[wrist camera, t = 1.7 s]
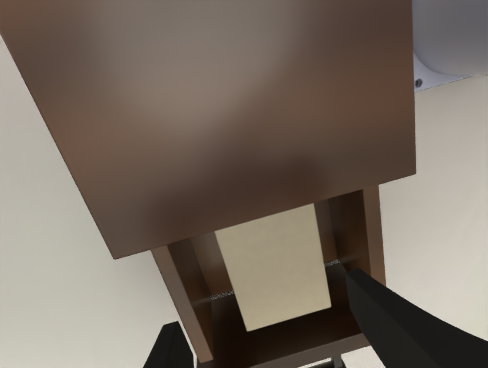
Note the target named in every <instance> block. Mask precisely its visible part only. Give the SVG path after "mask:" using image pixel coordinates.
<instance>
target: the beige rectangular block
mask: <svg viewBox="0 0 488 368" xmlns="http://www.w3.org/2000/svg"><path fill="white" fill-rule="evenodd" d="M214 233H215V236H216V239H217V242H218V245H219V248H220V251H221V254H222V257H223V260H224V263H225V266H226V269H227V272H228V275H229V278H230V281H231V284H232V287H233V290H234V293H235V296H236V299H237V302H238V305H239V308H240V311H241V314H242V318H243V321H244V324H245V327H246V330H247V331H252V330H255V329H258V328H262V327H265V326H268V325H272V324H275V323H278V322H282V321H285V320H289V319H292V318H295V317H299V316H302V315H305V314H309V313H312V312H315V311H319V310H322V309H326V308H329V307H331V301H330V295H329V290H328V284H327V278H326V272H325V266H324V261H323V255H322V249H321V243H320V237H319V232H318V226H317V220H316V214H315V208H314V203H312V204H309V205H305V206H302V207H298V208H295V209H291V210H288V211H284V212H281V213H277V214H274V215H270V216H267V217H263V218H260V219H256V220H253V221H249V222H246V223H242V224H239V225H235V226H232V227H228V228H225V229H221V230H218V231H214Z"/></svg>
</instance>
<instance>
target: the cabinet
mask: <svg viewBox="0 0 488 368" xmlns="http://www.w3.org/2000/svg"><path fill="white" fill-rule="evenodd" d="M0 34H1V36H2V38H3V40H4V42H5V44H6V46H7V48H8V50H9V52H10V54H11V56H12V58H13V60H14V62H15V64H16V66H17V68H18V70H19V72H20V74H21V76H22V78H23V80H24V82H25V84H26V86H27V88H28V90H29V91H30V93H31V95H32V97H33V99H34V101H35V103H36V105H37V107H38V109H39V111H40V113H41V115H42V117H43V119H44V121H45V123H46V125H47V127H48V129H49V131H50V133H51V135H52V137H53V139H54V141H55V143H56V145H57V147H58V149H59V151H60V153H61V155H62V157H63V159H64V161H65V163H66V165H67V167H68V169H69V171H70V173H71V175H72V177H73V179H74V181H75V183H76V185H77V187H78V189H79V191H80V193H81V195H82V197H83V199H84V201H85V203H86V205H87V207H88V209H89V211H90V213H91V215H92V217H93V219H94V221H95V223H96V225H97V227H98V229H99V231H100V233H101V235H102V237H103V239H104V241H105V243H106V245H107V247H108V249H109V251H110V253H111V255H112V257H113V259H115V260H116V259H119V258H123V257H126V256H130V255H133V254H137V253H140V252H144V251H147V250H151V249H154V248H158V247H161V246H165V245H168V244H172V243H175V242H179V241H182V240H186V239H189V238H193V237H196V236H200V235H203V234H207V233H210V232H214V231H218V230H221V229H225V228H228V227H232V226H235V225H239V224H242V223H246V222H249V221H253V220H256V219H260V218H263V217H267V216H270V215H274V214H277V213H281V212H284V211H288V210H291V209H295V208H298V207H302V206H305V205H309V204H312V203H316V202H319V201H323V200H326V199H330V198H333V197H337V196H340V195H344V194H348V193H351V192H355V191H358V190H362V189H365V188H369V187H372V186H376V185H379V184H383V183H386V182H390V181H393V180H397V179H400V178H404V177H407V176H411V175H414V174H416V145H415V101H414V57H413V13H412V0H0Z"/></svg>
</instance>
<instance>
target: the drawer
mask: <svg viewBox="0 0 488 368" xmlns="http://www.w3.org/2000/svg"><path fill="white" fill-rule="evenodd" d="M314 208H315V214H316V220H317V226H318V232H319V237H320V243H321V249H322V255H323V261H324V263H325V262H329V261H332V260H336V259H338V260H339V262H340V263H337V264H333V265H330V266H327V267H325V272H326V278H327V284H328V290H329V295H330V301H331V307H329V308H326V309H322V310H319V311H315V312H312V313H309V314H305V315H302V316H299V317H295V318H292V319H289V320H285V321H282V322H278V323H275V324H272V325H268V326H265V327H262V328H258V329H255V330H252V331H247V330H246V327H245V324H244V321H243V318H242V314H241V311H240V308H239V305H238V302H237V299H236V296H235V293H234V294H231V295H227V296H224V297H221V298H217V299H214V300H211V296H212V295H216V294H219V293H223V292H226V291H229V290H233V287H232V284H231V281H230V278H229V275H228V272H227V269H226V266H225V263H224V260H223V257H222V254H221V251H220V248H219V245H218V242H217V239H216V236H215V233H214V232H210V233H207V234H203V235H200V236H196V237H193V238H189V239H186V240H182V241H179V242H175V243H172V244H168V245H165V246H161V247H158V248H154V249H151V252H152V254H153V257H154V259H155V261H156V264H157V266H158V268H159V270H160V273H161V275H162V277H163V280H164V282H165V284H166V286H167V289H168V291H169V293H170V296H171V298H172V300H173V302H174V305H175V307H176V309H177V312H178V314H179V316H180V318H181V321H182V323H183V325H184V328H185V330H186V332H187V334H188V337H189V339H190V341H191V344H192V346H193V348H194V350H195V353H196V355H197V368H297V367H301V366H304V365H307V364H311V363H314V362H317V361H320V360H324V359H327V358H330V357H331V361H328V362H325V363H322V364H318V365H315V366H312V367H308V368H346V366H345V364H344V362H343V360H342V359H341V354H344V353H347V352H350V351H353V350H357V349H360V348H363V347H367V346H370V343H369V342H368V340H367V339H366V337H365V336H364V334H363V333H362V331H361V329H360V327H359V325H358V323H357V321H356V319H355V317H354V315H353V313H352V311H351V310H350V305H349V298H348V290H347V283H346V276H345V272H348V271H351V270H354V269H358V268H359V269H361V270H363V271H364V272H365V273H367V274H368V275H370V276H371V277H373V278H374V279H375V280H377V281H378V282H380V283H381V284H383V285H384V286H386V279H385V266H384V253H383V239H382V226H381V213H380V200H379V187H378V185H376V186H372V187H369V188H365V189H362V190H358V191H355V192H351V193H348V194H344V195H340V196H337V197H333V198H330V199H326V200H323V201H319V202H316V203H314Z"/></svg>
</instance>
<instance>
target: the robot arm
mask: <svg viewBox="0 0 488 368" xmlns="http://www.w3.org/2000/svg"><path fill="white" fill-rule="evenodd" d="M412 13H413V57H414V84H415V81H416V80H418V85H417V86H416V87H415V85H414V92H417V91H421V90H424V89H428V88H432V87H435V86H439V85H443V84H446V83H450V82H454V81H457V80H461V79H464V78H468V77H472V76H475V75H488V0H412ZM345 276H346V283H347V290H348V298H349V305H350V310H351V311H352V313H353V315H354V317H355V319H356V321H357V323H358V325H359V327H360V329H361V331H362V333H363V334H364V336H365V337H366V339H367V340H368V342H369V343H370V345H371V346H372V348H373V349H374V351H375V352H376V354H377V355H378V357H379V358H380V360H381V361H382V363H383V364H384V366H385V367H386V368H488V341H486V340H483V339H481V338H479V337H476V336H474V335H472V334H469V333H467V332H465V331H463V330H461V329H459V328H457V327H455V326H452V325H450V324H448V323H446V322H444V321H442V320H441V319H439V318H437V317H435V316H433V315H431V314H429V313H428V312H426V311H424V310H422V309H421V308H419V307H417V306H416V305H414V304H412V303H411V302H409V301H407V300H406V299H404V298H403V297H401V296H399V295H398V294H396V293H395V292H393V291H392V290H390V289H389V288H387V287H386V286H384V285H383V284H381V283H380V282H378V281H377V280H375V279H374V278H373V277H371V276H370V275H368V274H367V273H365V272H364V271H363V270H361V269H359V268H358V269H354V270H351V271H348V272H345ZM143 368H194V361H193V354H192V351H191V349H190V347H189V344H188V342H187V340H186V338H185V335H184V333H183V331H182V329H181V326H180V324H179V322H178V321H176V322H172V323H169V324H166V325H163V327H162V329H161V331H160V333H159V335H158V338H157V340H156V342H155V344H154V346H153V348H152V350H151V353H150V355H149V357H148V359H147V361H146V363H145V365H144V367H143Z"/></svg>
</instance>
